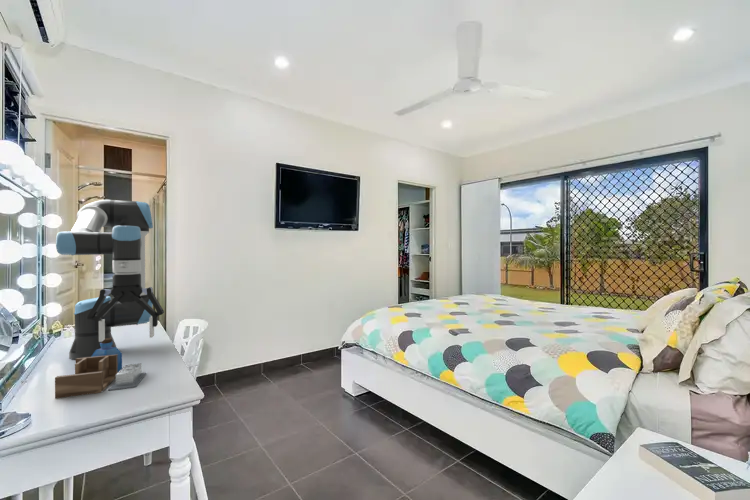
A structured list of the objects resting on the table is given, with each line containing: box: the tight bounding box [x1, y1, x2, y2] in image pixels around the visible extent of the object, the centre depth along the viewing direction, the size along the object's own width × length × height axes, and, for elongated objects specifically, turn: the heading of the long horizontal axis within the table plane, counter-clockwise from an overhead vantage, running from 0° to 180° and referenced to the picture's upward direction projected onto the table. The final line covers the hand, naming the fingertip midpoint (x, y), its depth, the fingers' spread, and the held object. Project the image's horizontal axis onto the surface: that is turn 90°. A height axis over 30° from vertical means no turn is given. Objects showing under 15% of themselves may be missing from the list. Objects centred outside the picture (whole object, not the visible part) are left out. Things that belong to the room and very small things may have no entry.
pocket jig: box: [54, 354, 118, 399], centre depth 108 cm, size 14×11×8 cm
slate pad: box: [107, 372, 147, 391], centre depth 111 cm, size 13×7×1 cm, turn 21°
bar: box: [115, 363, 143, 386], centre depth 112 cm, size 10×5×4 cm, turn 22°
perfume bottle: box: [91, 338, 123, 372], centre depth 120 cm, size 6×6×12 cm
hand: (127, 338), depth 111 cm, fingers open, 13 cm apart
